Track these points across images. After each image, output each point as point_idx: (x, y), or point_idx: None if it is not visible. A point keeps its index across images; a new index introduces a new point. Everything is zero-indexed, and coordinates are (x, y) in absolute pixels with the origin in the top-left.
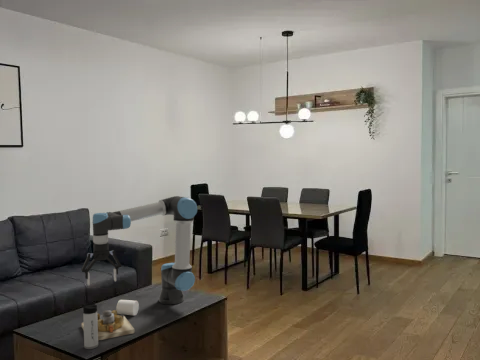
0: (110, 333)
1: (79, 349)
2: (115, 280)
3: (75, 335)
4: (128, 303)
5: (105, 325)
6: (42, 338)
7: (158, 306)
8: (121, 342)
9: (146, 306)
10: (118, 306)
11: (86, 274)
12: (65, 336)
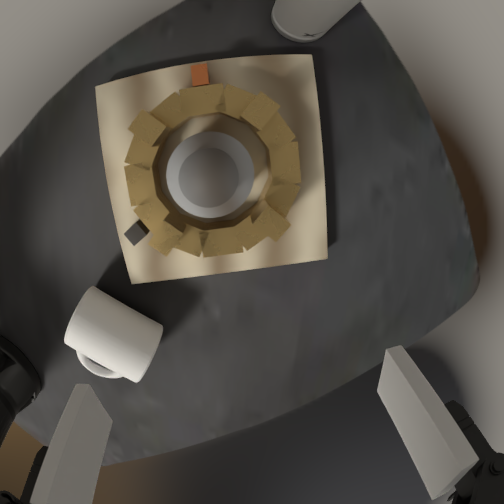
0: (208, 66)
1: (344, 18)
2: (80, 391)
3: (355, 162)
4: (97, 330)
5: (228, 95)
6: (450, 193)
7: (30, 341)
8: (172, 10)
9: (66, 359)
10: (149, 338)
11: (474, 443)
12: (389, 171)
